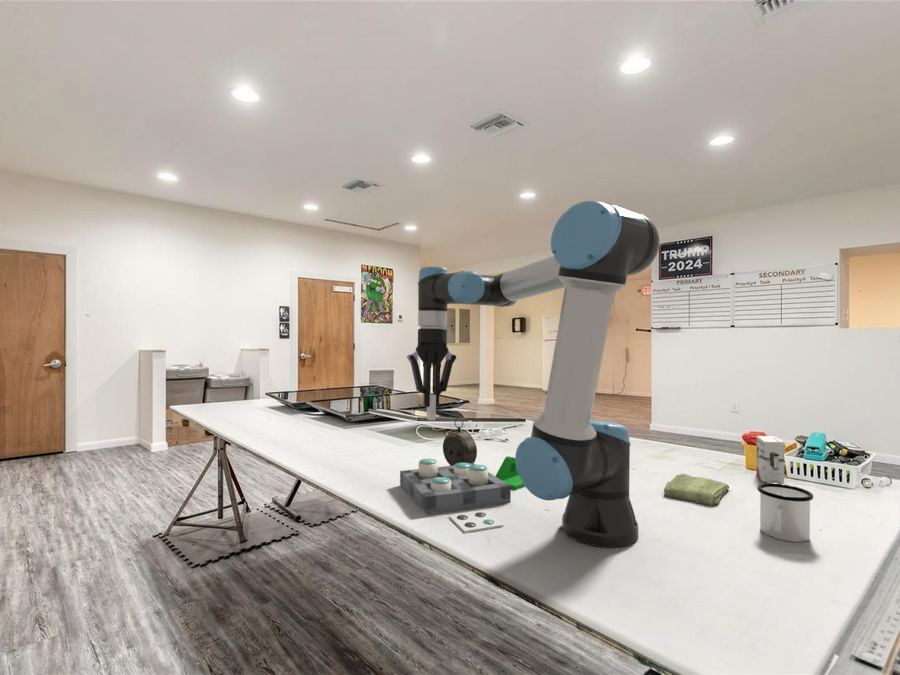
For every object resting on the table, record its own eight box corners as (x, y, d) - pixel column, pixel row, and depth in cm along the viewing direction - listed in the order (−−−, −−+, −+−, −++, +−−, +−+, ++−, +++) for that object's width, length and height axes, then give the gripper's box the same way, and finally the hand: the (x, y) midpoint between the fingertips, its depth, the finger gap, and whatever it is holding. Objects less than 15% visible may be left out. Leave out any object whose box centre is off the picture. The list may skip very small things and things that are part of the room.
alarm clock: (478, 473, 140) (478, 418, 140) (465, 477, 136) (465, 421, 136) (452, 466, 147) (452, 414, 147) (439, 469, 144) (439, 416, 144)
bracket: (515, 491, 124) (515, 465, 124) (493, 484, 130) (493, 460, 130) (542, 481, 133) (542, 457, 133) (519, 475, 138) (520, 452, 138)
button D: (475, 482, 127) (475, 466, 127) (457, 484, 125) (457, 468, 125) (467, 477, 131) (467, 461, 131) (451, 479, 130) (451, 463, 129)
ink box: (755, 474, 139) (755, 434, 139) (774, 476, 137) (775, 436, 137) (764, 483, 131) (764, 440, 131) (784, 485, 129) (785, 442, 129)
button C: (491, 486, 117) (491, 468, 117) (473, 488, 115) (473, 470, 115) (482, 480, 122) (482, 463, 122) (465, 482, 120) (465, 465, 120)
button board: (510, 502, 115) (510, 485, 115) (425, 514, 107) (425, 496, 107) (474, 477, 136) (474, 463, 136) (400, 485, 128) (400, 470, 128)
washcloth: (731, 490, 126) (731, 478, 126) (716, 509, 112) (716, 496, 112) (678, 480, 134) (678, 469, 134) (659, 497, 121) (659, 484, 121)
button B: (440, 479, 123) (440, 462, 123) (421, 481, 121) (421, 464, 121) (433, 473, 128) (433, 457, 128) (416, 475, 126) (416, 459, 126)
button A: (454, 499, 114) (454, 481, 114) (434, 502, 112) (434, 483, 112) (446, 493, 118) (446, 475, 118) (428, 495, 117) (428, 477, 117)
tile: (503, 526, 101) (503, 523, 101) (464, 532, 97) (464, 530, 97) (485, 511, 109) (485, 509, 109) (449, 517, 106) (449, 514, 106)
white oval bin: (762, 521, 104) (762, 480, 104) (816, 533, 97) (816, 490, 97) (749, 538, 95) (749, 493, 95) (807, 553, 89) (808, 505, 89)
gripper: (450, 328, 127) (449, 415, 127) (403, 327, 122) (402, 418, 122) (461, 328, 120) (459, 420, 120) (412, 327, 115) (411, 423, 115)
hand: (431, 419), depth 121 cm, fingers closed
